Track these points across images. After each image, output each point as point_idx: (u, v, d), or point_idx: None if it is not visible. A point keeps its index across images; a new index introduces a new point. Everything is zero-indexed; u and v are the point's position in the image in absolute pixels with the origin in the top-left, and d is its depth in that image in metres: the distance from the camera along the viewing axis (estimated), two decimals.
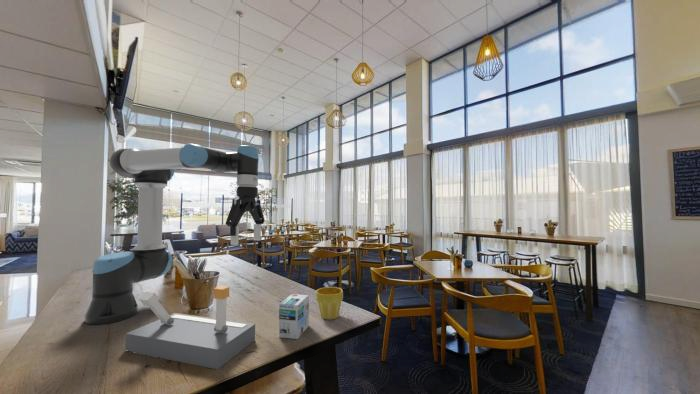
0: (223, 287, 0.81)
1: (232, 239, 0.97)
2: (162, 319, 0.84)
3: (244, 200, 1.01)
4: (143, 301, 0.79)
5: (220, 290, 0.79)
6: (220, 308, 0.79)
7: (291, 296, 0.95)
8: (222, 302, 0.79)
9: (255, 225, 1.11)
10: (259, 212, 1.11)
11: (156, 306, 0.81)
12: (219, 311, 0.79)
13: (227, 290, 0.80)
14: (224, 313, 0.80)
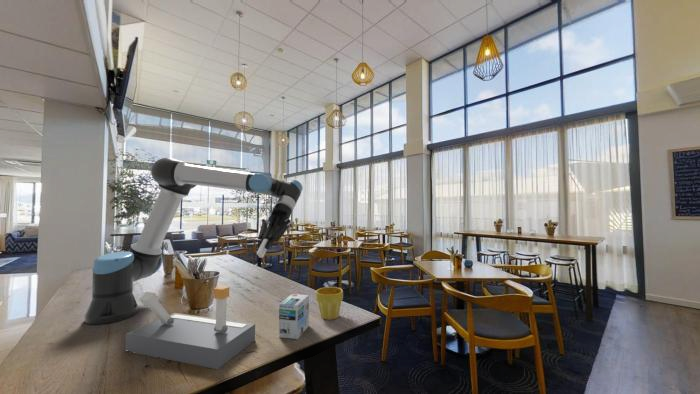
0: (223, 287, 0.81)
1: (263, 250, 0.99)
2: (162, 319, 0.84)
3: None
4: (143, 301, 0.79)
5: (220, 290, 0.79)
6: (220, 308, 0.79)
7: (291, 296, 0.95)
8: (222, 302, 0.79)
9: None
10: (265, 230, 1.08)
11: (156, 306, 0.81)
12: (219, 311, 0.79)
13: (227, 290, 0.80)
14: (224, 313, 0.80)
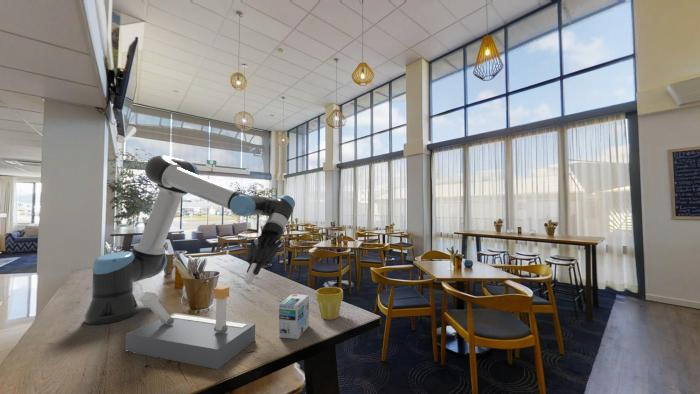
0: (223, 287, 0.81)
1: (251, 276, 0.91)
2: (162, 319, 0.84)
3: None
4: (143, 301, 0.79)
5: (220, 290, 0.79)
6: (220, 308, 0.79)
7: (291, 296, 0.95)
8: (222, 302, 0.79)
9: None
10: (254, 252, 1.00)
11: (156, 306, 0.81)
12: (219, 311, 0.79)
13: (227, 290, 0.80)
14: (224, 313, 0.80)
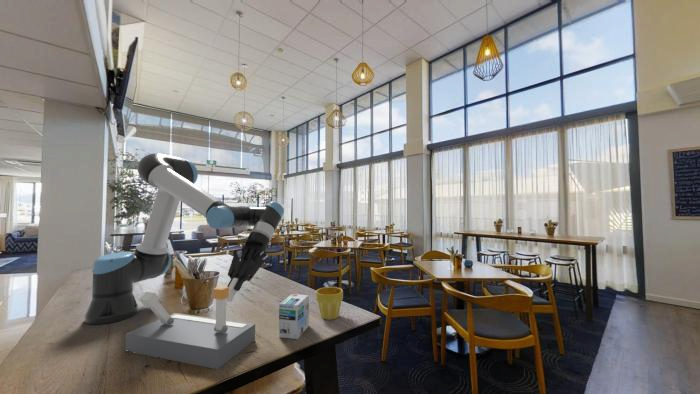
0: (223, 287, 0.80)
1: (231, 293, 0.83)
2: (162, 319, 0.84)
3: None
4: (143, 301, 0.79)
5: (220, 290, 0.79)
6: (220, 308, 0.79)
7: (291, 296, 0.95)
8: (222, 302, 0.79)
9: None
10: (237, 265, 0.92)
11: (156, 306, 0.81)
12: (219, 311, 0.79)
13: (227, 290, 0.80)
14: (224, 313, 0.80)
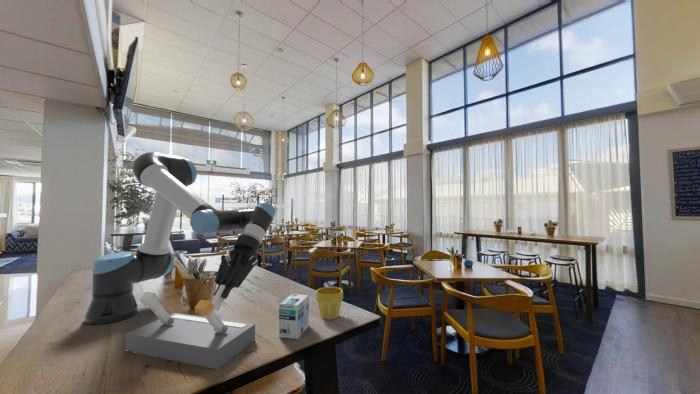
0: (203, 303, 0.74)
1: (218, 301, 0.78)
2: (162, 319, 0.84)
3: None
4: (143, 301, 0.79)
5: (201, 310, 0.72)
6: (211, 319, 0.76)
7: (291, 296, 0.95)
8: (210, 315, 0.75)
9: None
10: (225, 271, 0.86)
11: (156, 306, 0.81)
12: (211, 321, 0.76)
13: (209, 305, 0.74)
14: (217, 320, 0.77)
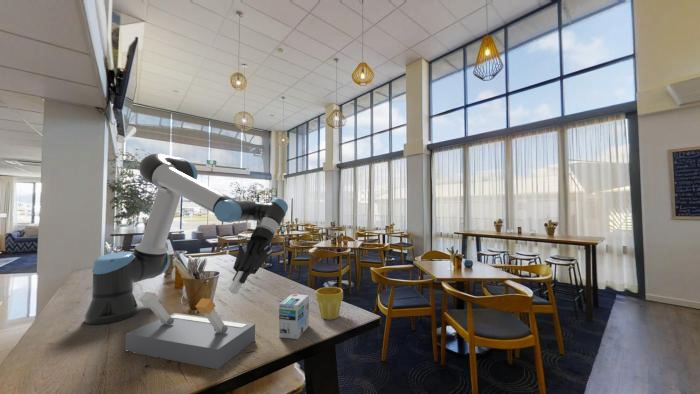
0: (205, 301, 0.74)
1: (236, 285, 0.85)
2: (162, 319, 0.84)
3: None
4: (143, 301, 0.79)
5: (203, 308, 0.73)
6: (211, 318, 0.76)
7: (291, 296, 0.95)
8: (210, 314, 0.75)
9: None
10: (242, 259, 0.94)
11: (156, 306, 0.81)
12: (211, 320, 0.76)
13: (210, 303, 0.74)
14: (218, 319, 0.78)
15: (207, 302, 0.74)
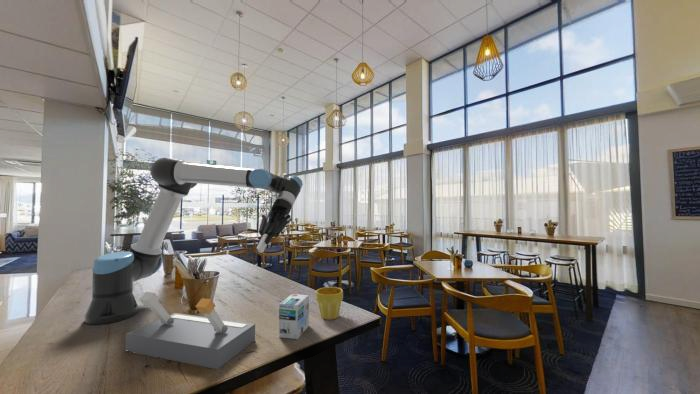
0: (205, 301, 0.74)
1: (262, 245, 0.99)
2: (162, 319, 0.84)
3: None
4: (143, 301, 0.79)
5: (203, 308, 0.73)
6: (211, 318, 0.76)
7: (291, 296, 0.95)
8: (210, 314, 0.75)
9: None
10: (265, 226, 1.08)
11: (156, 306, 0.81)
12: (211, 320, 0.76)
13: (210, 303, 0.74)
14: (218, 319, 0.78)
15: (207, 302, 0.74)
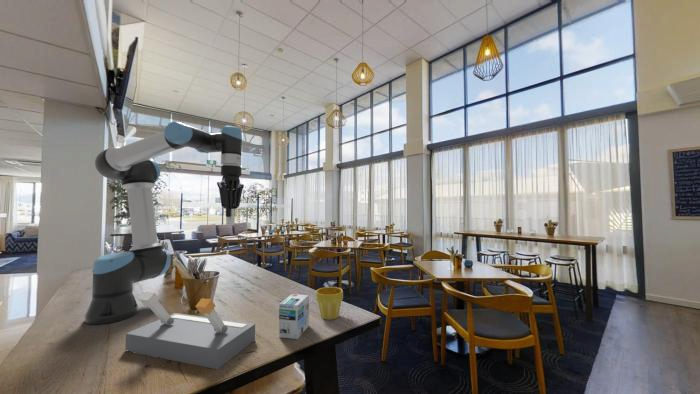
0: (205, 301, 0.74)
1: (227, 220, 1.08)
2: (162, 319, 0.84)
3: (227, 178, 1.06)
4: (143, 301, 0.79)
5: (203, 308, 0.73)
6: (211, 318, 0.76)
7: (291, 296, 0.95)
8: (210, 314, 0.75)
9: None
10: (238, 195, 1.12)
11: (156, 306, 0.81)
12: (211, 320, 0.76)
13: (210, 303, 0.74)
14: (218, 319, 0.78)
15: (207, 302, 0.74)
